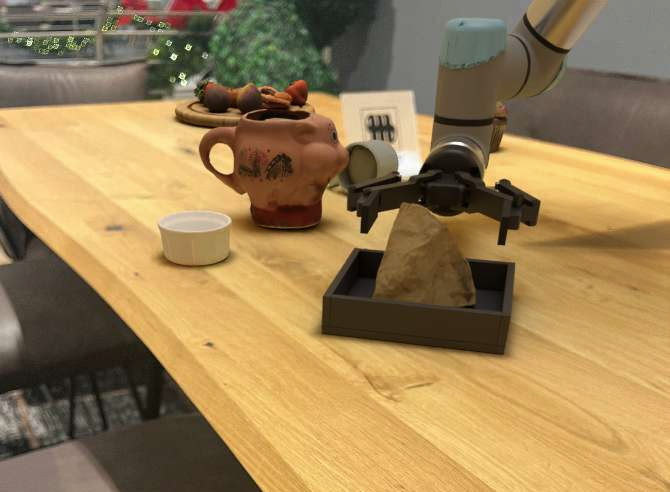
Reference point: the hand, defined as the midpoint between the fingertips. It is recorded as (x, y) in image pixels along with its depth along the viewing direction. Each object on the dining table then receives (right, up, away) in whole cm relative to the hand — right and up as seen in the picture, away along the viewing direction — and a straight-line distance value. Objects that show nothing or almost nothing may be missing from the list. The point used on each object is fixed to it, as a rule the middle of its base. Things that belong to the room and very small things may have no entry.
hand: (432, 225), depth 75 cm
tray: (0, -8, +5) cm, 9 cm away
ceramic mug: (-3, +22, +47) cm, 52 cm away
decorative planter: (-16, +12, +32) cm, 38 cm away
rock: (0, -7, +4) cm, 8 cm away
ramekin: (-26, +3, +19) cm, 32 cm away
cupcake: (+22, +42, +75) cm, 89 cm away
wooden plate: (-25, +61, +101) cm, 121 cm away
